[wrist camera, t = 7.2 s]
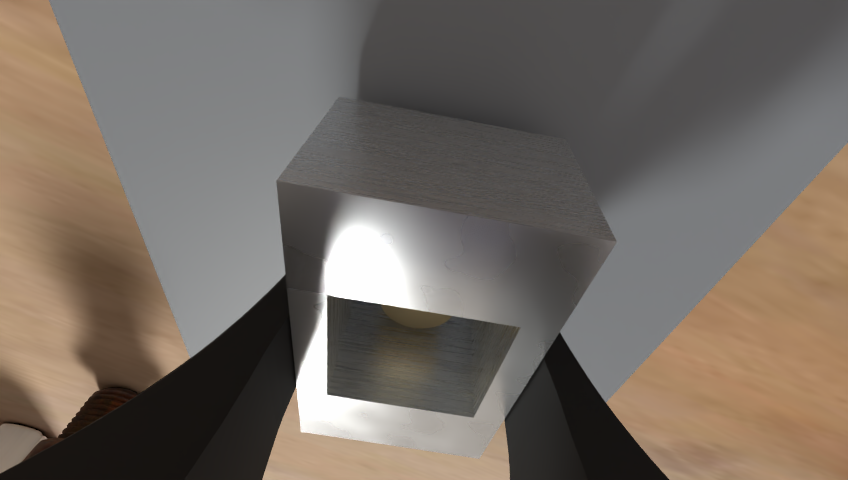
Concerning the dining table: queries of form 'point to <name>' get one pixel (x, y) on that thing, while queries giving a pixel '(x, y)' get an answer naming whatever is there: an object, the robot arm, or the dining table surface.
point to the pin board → (478, 102)
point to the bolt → (89, 414)
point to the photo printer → (16, 444)
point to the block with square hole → (429, 271)
